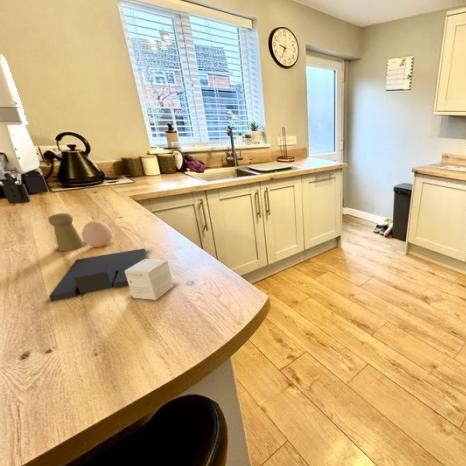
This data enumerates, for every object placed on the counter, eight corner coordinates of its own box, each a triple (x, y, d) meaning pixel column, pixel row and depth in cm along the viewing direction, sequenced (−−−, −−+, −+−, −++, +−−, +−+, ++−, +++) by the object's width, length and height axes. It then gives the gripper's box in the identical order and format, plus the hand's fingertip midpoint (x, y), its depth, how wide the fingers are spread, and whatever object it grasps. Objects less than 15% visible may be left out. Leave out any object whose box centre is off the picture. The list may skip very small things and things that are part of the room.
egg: (85, 252, 87) (75, 227, 84) (88, 244, 93) (79, 220, 90) (114, 247, 91) (106, 222, 88) (116, 239, 97) (108, 216, 93)
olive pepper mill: (62, 245, 92) (49, 212, 88) (86, 242, 95) (75, 210, 90) (55, 252, 87) (41, 218, 83) (81, 249, 90) (68, 215, 86)
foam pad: (80, 294, 67) (74, 277, 66) (87, 282, 72) (81, 266, 70) (112, 288, 70) (106, 271, 68) (117, 276, 75) (112, 261, 73)
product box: (132, 298, 66) (122, 270, 63) (152, 284, 72) (144, 258, 69) (156, 300, 65) (148, 272, 63) (174, 286, 71) (168, 260, 68)
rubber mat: (51, 301, 65) (49, 296, 64) (78, 264, 81) (76, 259, 80) (137, 284, 72) (135, 279, 71) (145, 252, 88) (144, 248, 87)
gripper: (-4, 115, 65) (25, 190, 71) (-58, 116, 50) (-16, 209, 57) (41, 116, 68) (65, 187, 74) (3, 118, 54) (36, 206, 60)
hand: (30, 197), depth 66 cm, fingers open, 9 cm apart
